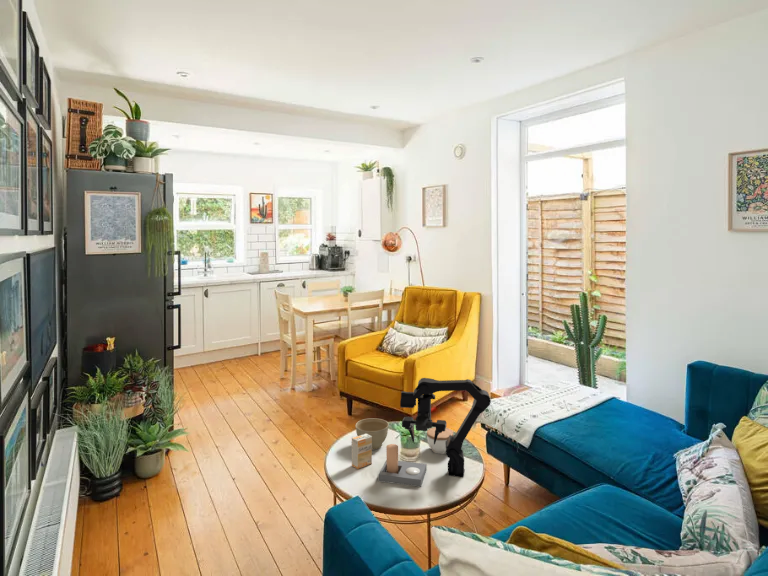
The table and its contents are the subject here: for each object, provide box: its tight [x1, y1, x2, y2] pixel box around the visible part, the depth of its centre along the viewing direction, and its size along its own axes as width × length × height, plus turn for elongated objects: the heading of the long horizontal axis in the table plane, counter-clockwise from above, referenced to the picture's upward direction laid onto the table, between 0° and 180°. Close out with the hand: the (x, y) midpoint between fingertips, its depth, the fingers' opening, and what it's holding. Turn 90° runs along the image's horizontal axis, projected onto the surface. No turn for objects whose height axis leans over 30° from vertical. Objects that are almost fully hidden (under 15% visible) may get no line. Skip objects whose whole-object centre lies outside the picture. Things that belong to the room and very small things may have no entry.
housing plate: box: [378, 459, 428, 488], centre depth 203 cm, size 18×14×3 cm
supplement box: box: [351, 434, 373, 470], centre depth 212 cm, size 8×5×13 cm, turn 129°
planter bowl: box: [355, 417, 390, 450], centre depth 231 cm, size 16×16×11 cm
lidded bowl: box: [426, 427, 454, 455], centre depth 226 cm, size 13×13×11 cm
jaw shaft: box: [385, 443, 399, 474], centre depth 202 cm, size 5×5×13 cm
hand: (424, 442), depth 205 cm, fingers open, 9 cm apart
